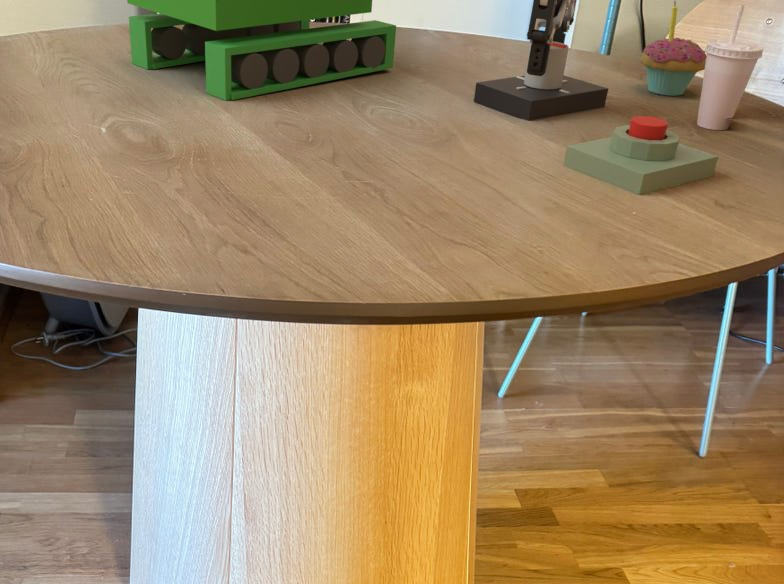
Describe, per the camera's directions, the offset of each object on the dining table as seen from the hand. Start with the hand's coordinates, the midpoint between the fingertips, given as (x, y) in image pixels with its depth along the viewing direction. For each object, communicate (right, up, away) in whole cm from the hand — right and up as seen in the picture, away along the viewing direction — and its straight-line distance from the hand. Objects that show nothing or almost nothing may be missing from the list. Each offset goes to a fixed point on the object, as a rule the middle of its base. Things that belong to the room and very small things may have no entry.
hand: (543, 68), depth 113 cm
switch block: (+5, -18, -19) cm, 27 cm away
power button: (+5, -15, -21) cm, 26 cm away
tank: (-35, +6, +16) cm, 39 cm away
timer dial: (0, -2, +1) cm, 2 cm away
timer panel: (0, -4, +2) cm, 5 cm away
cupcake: (+20, 0, +11) cm, 23 cm away
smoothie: (+20, -8, -3) cm, 22 cm away
